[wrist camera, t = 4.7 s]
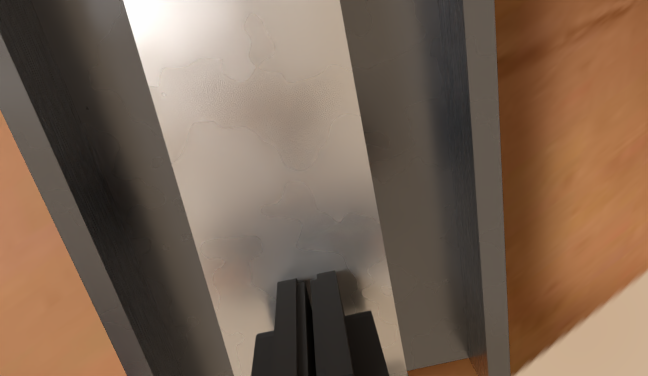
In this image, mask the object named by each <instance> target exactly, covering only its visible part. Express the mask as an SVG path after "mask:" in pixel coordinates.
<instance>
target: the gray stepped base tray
mask: <svg viewBox="0 0 648 376" xmlns="http://www.w3.org/2000/svg"><path fill="white" fill-rule="evenodd" d="M340 5H341V11H342V16H343V22H344V27H345V33H346V38H347V44H348V49H349V55H350V60H351V66H352V72H353V77H354V83H355V88H356V94H357V99H358V105H359V110H360V116H361V121H362V127H363V132H364V138H365V143H366V149H367V154H368V160H369V165H370V171H371V177H372V182H373V188H374V193H375V199H376V204H377V210H378V215H379V221H380V226H381V232H382V237H383V243H384V248H385V254H386V259H387V265H388V270H389V276H390V282H391V287H392V293H393V298H394V304H395V309H396V315H397V320H398V326H399V331H400V337H401V342H402V348H403V353H404V359H405V364H406V370H407V371H409V370H414V369H418V368H423V367H428V366H432V365H437V364H442V363H447V362H451V361H456V360H461V359H465V358H469V359H470V361H471V363H472V365H473V367H474V369H475V370H476V372H477V374H478V376H510V353H509V330H508V307H507V283H506V260H505V237H504V213H503V190H502V167H501V144H500V120H499V97H498V74H497V50H496V27H495V4H494V0H340ZM0 110H1V112H2V114H3V116H4V118H5V120H6V122H7V125H8V127H9V129H10V131H11V133H12V135H13V137H14V139H15V141H16V143H17V146H18V148H19V150H20V152H21V154H22V156H23V158H24V160H25V162H26V164H27V167H28V169H29V171H30V173H31V175H32V177H33V179H34V181H35V183H36V185H37V187H38V190H39V192H40V194H41V196H42V198H43V200H44V202H45V204H46V206H47V208H48V211H49V213H50V215H51V217H52V219H53V221H54V223H55V225H56V227H57V229H58V232H59V234H60V236H61V238H62V240H63V242H64V244H65V246H66V248H67V250H68V253H69V255H70V257H71V259H72V261H73V263H74V265H75V267H76V269H77V271H78V274H79V276H80V278H81V280H82V282H83V284H84V286H85V288H86V290H87V292H88V294H89V297H90V299H91V301H92V303H93V305H94V307H95V309H96V311H97V313H98V315H99V318H100V320H101V322H102V324H103V326H104V328H105V330H106V332H107V334H108V336H109V339H110V341H111V343H112V345H113V347H114V349H115V351H116V353H117V355H118V357H119V360H120V362H121V364H122V366H123V368H124V370H125V372H126V374H127V376H234V374H233V370H232V367H231V364H230V360H229V357H228V354H227V350H226V347H225V343H224V340H223V337H222V333H221V330H220V326H219V323H218V320H217V316H216V313H215V310H214V306H213V303H212V299H211V296H210V293H209V289H208V286H207V282H206V279H205V276H204V272H203V269H202V266H201V262H200V259H199V255H198V252H197V249H196V245H195V242H194V238H193V235H192V232H191V228H190V225H189V221H188V218H187V215H186V211H185V208H184V205H183V201H182V198H181V194H180V191H179V188H178V184H177V181H176V177H175V174H174V171H173V167H172V164H171V161H170V157H169V154H168V150H167V147H166V144H165V140H164V137H163V133H162V130H161V127H160V123H159V120H158V117H157V113H156V110H155V106H154V103H153V100H152V96H151V93H150V89H149V86H148V83H147V79H146V76H145V72H144V69H143V66H142V62H141V59H140V56H139V52H138V49H137V45H136V42H135V39H134V35H133V32H132V28H131V25H130V22H129V18H128V15H127V12H126V8H125V5H124V1H123V0H0Z"/></svg>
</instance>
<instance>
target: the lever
mask: <svg viewBox="0 0 648 376" xmlns="http://www.w3.org/2000/svg"><path fill="white" fill-rule="evenodd" d="M123 1H124V5H125V8H126V12H127V15H128V18H129V22H130V25H131V28H132V32H133V35H134V39H135V42H136V45H137V49H138V52H139V56H140V59H141V62H142V66H143V69H144V72H145V76H146V79H147V83H148V86H149V89H150V93H151V96H152V100H153V103H154V106H155V110H156V113H157V117H158V120H159V123H160V127H161V130H162V133H163V137H164V140H165V144H166V147H167V150H168V154H169V157H170V161H171V164H172V167H173V171H174V174H175V177H176V181H177V184H178V188H179V191H180V194H181V198H182V201H183V205H184V208H185V211H186V215H187V218H188V221H189V225H190V228H191V232H192V235H193V238H194V242H195V245H196V249H197V252H198V255H199V259H200V262H201V266H202V269H203V272H204V276H205V279H206V282H207V286H208V289H209V293H210V296H211V299H212V303H213V306H214V310H215V313H216V316H217V320H218V323H219V326H220V330H221V333H222V337H223V340H224V343H225V347H226V350H227V354H228V357H229V360H230V364H231V367H232V370H233V374H234V376H251V371H252V363H253V355H254V347H255V339H256V335H257V334H258V333H263V332H268V331H273V330H274V325H275V310H276V295H277V282H280V281H285V280H290V279H294V278H297V280H298V283H300V282H305V284H306V288H307V292H308V296H309V300H310V304H311V308H312V301H311V286H310V280H315V279H317V274H319V273H324V272H328V271H333V270H335V272H336V276H337V281H338V286H339V290H340V295H341V300H342V304H343V309H344V314H345V316H346V315H351V314H355V313H360V312H365V311H370V310H371V312H372V315H373V318H374V322H375V326H376V329H377V333H378V336H379V340H380V344H381V347H382V351H383V354H384V358H385V362H386V365H387V369H388V372H389V376H408V373H407V370H406V364H405V359H404V353H403V348H402V342H401V337H400V331H399V326H398V320H397V315H396V309H395V304H394V298H393V293H392V287H391V282H390V276H389V270H388V265H387V259H386V254H385V248H384V243H383V237H382V232H381V226H380V221H379V215H378V210H377V204H376V199H375V193H374V188H373V182H372V177H371V171H370V165H369V160H368V154H367V149H366V143H365V138H364V132H363V127H362V121H361V116H360V110H359V105H358V99H357V94H356V88H355V83H354V77H353V72H352V66H351V60H350V55H349V49H348V44H347V38H346V33H345V27H344V22H343V16H342V11H341V5H340V0H123Z"/></svg>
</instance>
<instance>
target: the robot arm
mask: <svg viewBox="0 0 648 376" xmlns="http://www.w3.org/2000/svg"><path fill="white" fill-rule="evenodd" d="M310 286H311V301H312V308H311V304H310V300H309V296H308V292H307V288H306V284H305V282H300V283H298V280H297V278H294V279H290V280H285V281H280V282H277V295H276V310H275V325H274V330H273V331H268V332H263V333H258V334H257V335H256V339H255V347H254V355H253V363H252V371H251V376H389V372H388V369H387V365H386V362H385V358H384V354H383V351H382V347H381V344H380V340H379V336H378V333H377V329H376V326H375V322H374V318H373V315H372V312H371V310H370V311H365V312H360V313H355V314H351V315H346V316H345V314H344V309H343V304H342V300H341V295H340V290H339V286H338V281H337V276H336V272H335V270H333V271H328V272H324V273H319V274H317V279H315V280H310Z"/></svg>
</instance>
